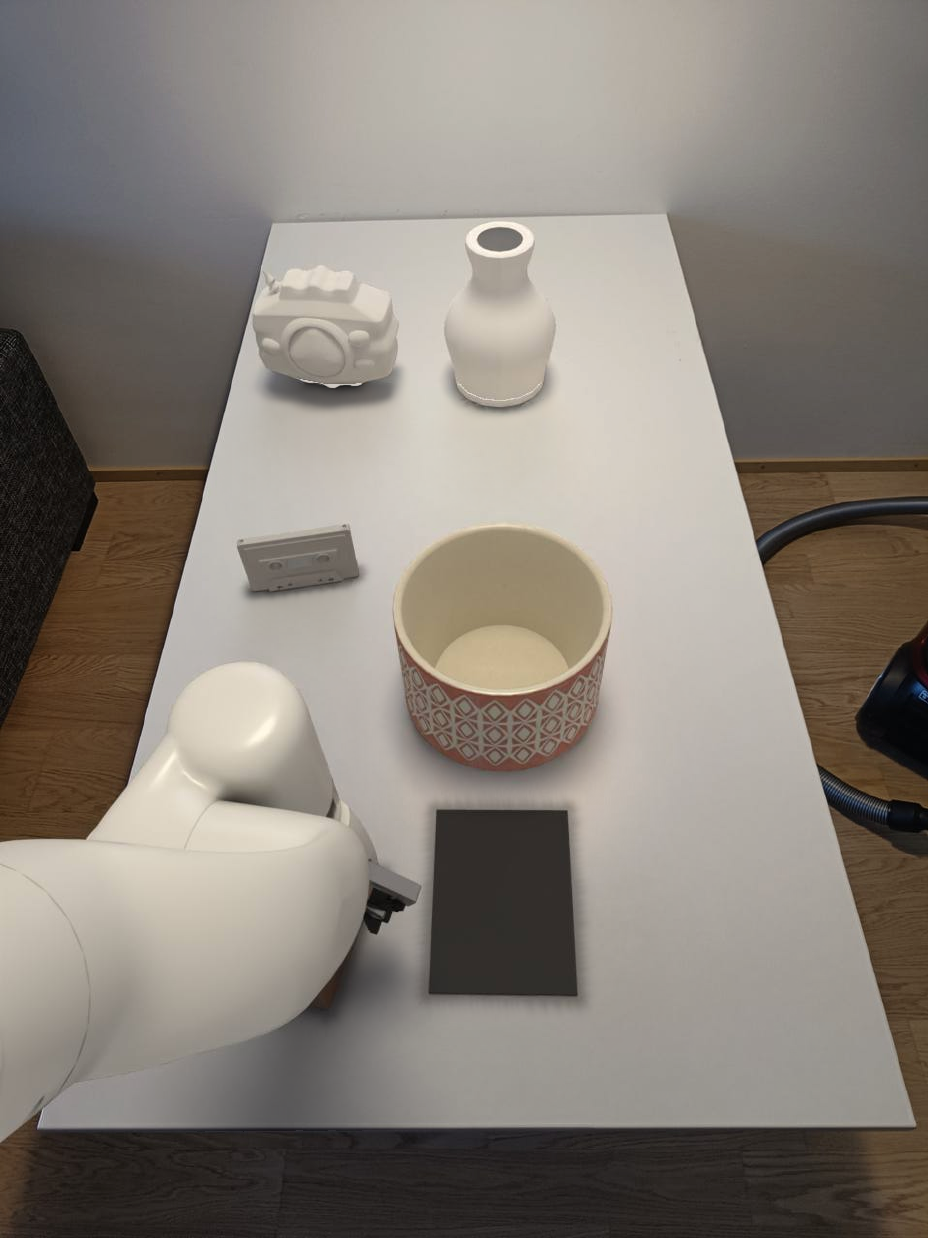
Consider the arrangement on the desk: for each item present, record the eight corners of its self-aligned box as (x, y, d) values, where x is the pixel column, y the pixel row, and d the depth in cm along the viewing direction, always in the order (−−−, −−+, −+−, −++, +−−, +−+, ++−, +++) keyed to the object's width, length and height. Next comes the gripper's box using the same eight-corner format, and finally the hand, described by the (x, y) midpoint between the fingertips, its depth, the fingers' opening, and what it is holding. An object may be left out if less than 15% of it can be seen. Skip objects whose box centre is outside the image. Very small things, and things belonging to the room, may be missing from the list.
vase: (556, 411, 114) (565, 269, 98) (446, 414, 115) (437, 273, 99) (549, 344, 123) (557, 204, 107) (447, 347, 123) (440, 207, 108)
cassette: (252, 595, 97) (235, 549, 91) (251, 582, 99) (235, 536, 92) (360, 579, 98) (350, 532, 92) (358, 567, 99) (349, 519, 93)
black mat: (577, 995, 71) (577, 994, 71) (429, 993, 72) (428, 992, 71) (567, 811, 81) (567, 810, 81) (436, 810, 81) (436, 809, 81)
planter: (607, 776, 83) (625, 691, 71) (403, 782, 83) (388, 698, 71) (587, 614, 94) (600, 518, 83) (408, 619, 95) (395, 524, 83)
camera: (282, 352, 124) (257, 246, 111) (408, 360, 122) (397, 253, 109) (260, 403, 117) (231, 296, 105) (392, 413, 115) (379, 304, 103)
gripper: (128, 824, 55) (203, 911, 69) (385, 903, 52) (410, 978, 66) (185, 723, 60) (244, 824, 73) (427, 790, 56) (441, 883, 70)
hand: (323, 897), depth 70 cm, fingers open, 9 cm apart
